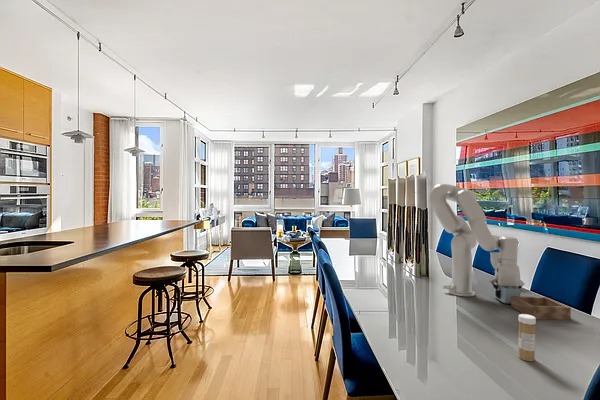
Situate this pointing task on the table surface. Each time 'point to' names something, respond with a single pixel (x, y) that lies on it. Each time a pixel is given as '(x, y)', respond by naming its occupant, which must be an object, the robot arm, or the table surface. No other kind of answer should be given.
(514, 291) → the block
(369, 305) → the table surface
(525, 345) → the pill bottle
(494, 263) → the chalice
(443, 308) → the table surface
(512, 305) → the walnut crate
